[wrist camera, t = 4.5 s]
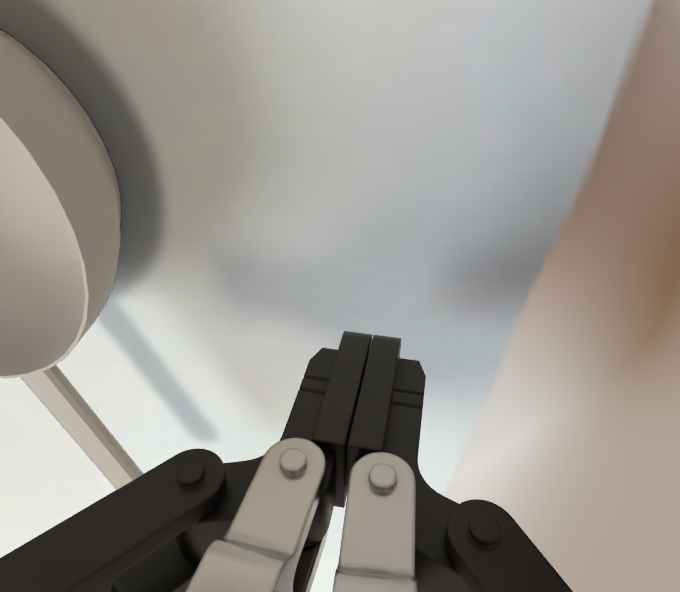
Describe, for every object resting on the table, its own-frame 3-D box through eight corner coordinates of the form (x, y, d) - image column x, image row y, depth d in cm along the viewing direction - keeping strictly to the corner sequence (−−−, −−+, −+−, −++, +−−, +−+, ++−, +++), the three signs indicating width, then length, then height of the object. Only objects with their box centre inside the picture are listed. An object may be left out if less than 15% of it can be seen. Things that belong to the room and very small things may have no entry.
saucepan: (-35, -152, 11) (-236, -178, 8) (318, 426, 19) (289, 521, 16) (-270, 50, 15) (-461, 85, 12) (109, 452, 24) (55, 531, 20)
